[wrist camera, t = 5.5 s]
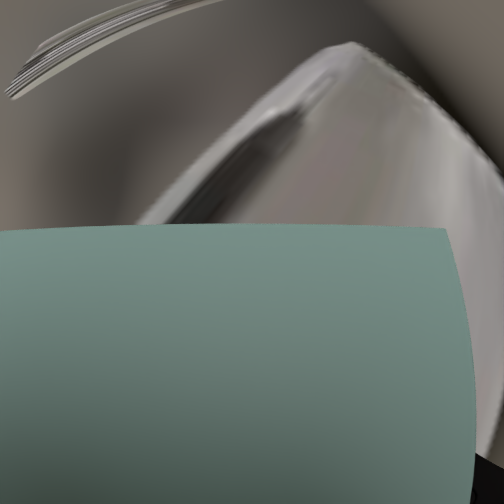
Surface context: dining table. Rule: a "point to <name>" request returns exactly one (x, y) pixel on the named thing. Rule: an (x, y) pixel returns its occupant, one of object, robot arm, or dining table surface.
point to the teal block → (234, 366)
